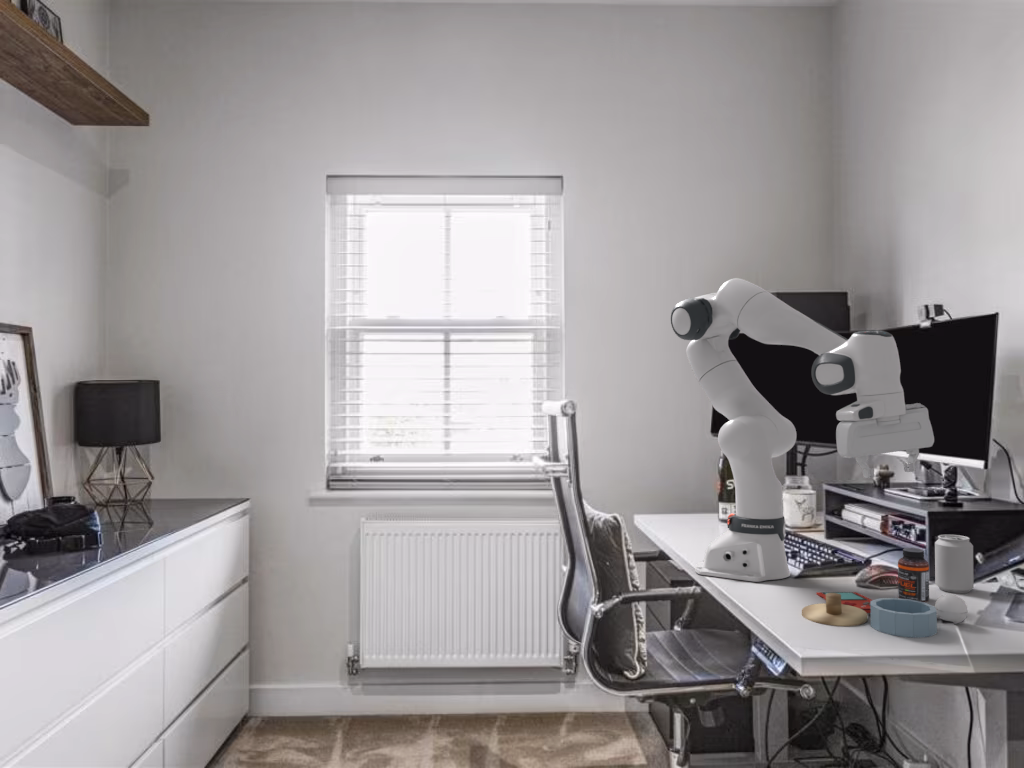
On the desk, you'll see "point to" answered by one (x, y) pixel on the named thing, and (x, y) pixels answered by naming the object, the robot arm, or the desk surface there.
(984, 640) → the desk surface
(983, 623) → the desk surface
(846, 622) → the lid
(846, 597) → the handheld gaming console
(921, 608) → the bowl
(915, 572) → the supplement bottle
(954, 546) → the can
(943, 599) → the white rounded lump
